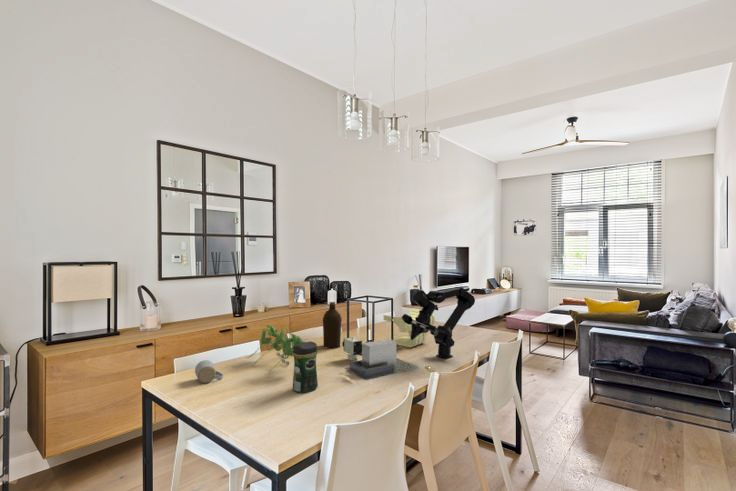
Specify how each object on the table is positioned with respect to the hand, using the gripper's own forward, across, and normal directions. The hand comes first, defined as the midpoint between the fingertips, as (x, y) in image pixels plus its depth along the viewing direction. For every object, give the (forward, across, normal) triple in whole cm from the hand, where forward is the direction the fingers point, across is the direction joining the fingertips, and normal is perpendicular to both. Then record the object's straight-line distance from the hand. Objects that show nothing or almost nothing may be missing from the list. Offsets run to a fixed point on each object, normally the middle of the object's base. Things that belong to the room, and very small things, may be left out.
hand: (411, 339), depth 179 cm
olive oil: (+19, +48, -15) cm, 53 cm away
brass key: (+9, -14, -3) cm, 17 cm away
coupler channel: (+20, +4, +4) cm, 21 cm away
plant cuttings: (+45, +43, +20) cm, 66 cm away
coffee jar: (+45, +15, +32) cm, 57 cm away
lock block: (+20, +4, +6) cm, 21 cm away
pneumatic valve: (+23, +22, 0) cm, 31 cm away
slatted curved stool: (-7, +17, -37) cm, 41 cm away
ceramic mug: (+64, +52, +41) cm, 92 cm away
